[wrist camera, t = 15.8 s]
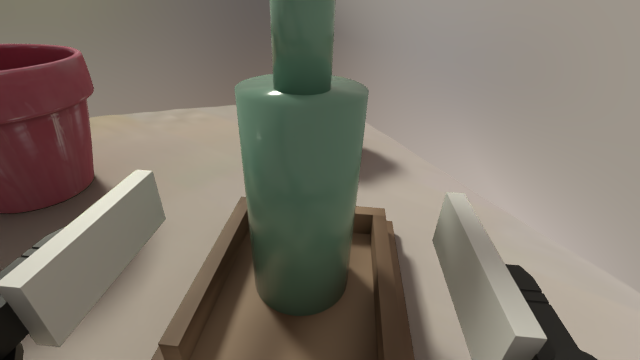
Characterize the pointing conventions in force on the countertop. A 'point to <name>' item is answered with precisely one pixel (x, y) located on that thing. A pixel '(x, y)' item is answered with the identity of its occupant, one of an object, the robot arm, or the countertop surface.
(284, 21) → the green bottle
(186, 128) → the countertop surface
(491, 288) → the robot arm
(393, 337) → the u rest
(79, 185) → the plant pot
